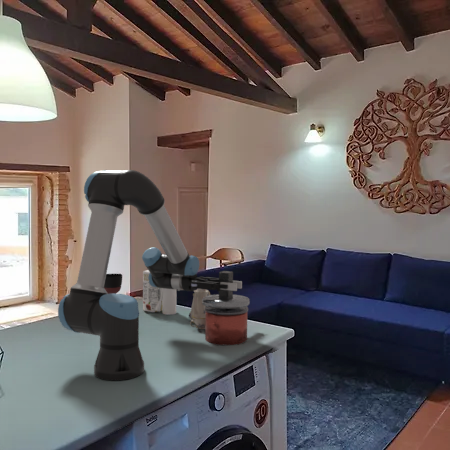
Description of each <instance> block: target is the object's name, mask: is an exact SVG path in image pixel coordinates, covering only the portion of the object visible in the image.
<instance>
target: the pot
mask: <svg viewBox="0 0 450 450" xmlns="http://www.w3.org/2000/svg"><path fill="white" fill-rule="evenodd" d="M205 311H206V317H205V329H204V330H205V333H204V336H205V339H204V340H205V341H206V342H207V343H210V344H213V345H219V346H220V345H221V346H235V345H241V344H244V343H246V342H247V341H248V312H249V307H248V306H246V307H242V308H235V309H218V308H211V307H207V306H205ZM246 340H247V341H246ZM245 341H246V342H245ZM243 342H244V343H243Z"/></svg>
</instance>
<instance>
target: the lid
mask: <svg viewBox="0 0 450 450" xmlns="http://www.w3.org/2000/svg"><path fill="white" fill-rule="evenodd" d="M218 278H219V283H220V282H227V283H233V281H234V271H229V270H222V271H219V272H218ZM233 292H234V291H231V290H221V289H220V291H218V294H210V296H209V295H207V296H206V297H204V298H202V304H203V305H204V306H207V307H211V308H218V309H235V308H242V307H246V306H247V307H248V306H249V305H250V298H249V297H248V296H244V295H240V294H234V293H233Z"/></svg>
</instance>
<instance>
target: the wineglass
mask: <svg viewBox="0 0 450 450" xmlns="http://www.w3.org/2000/svg"><path fill="white" fill-rule="evenodd" d="M122 284H123V274H122V273H106V278H105V283H104V289H105V290H106V292H107V293H108V294H112V293H115V294H119V292H120V290H121V289H122Z"/></svg>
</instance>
